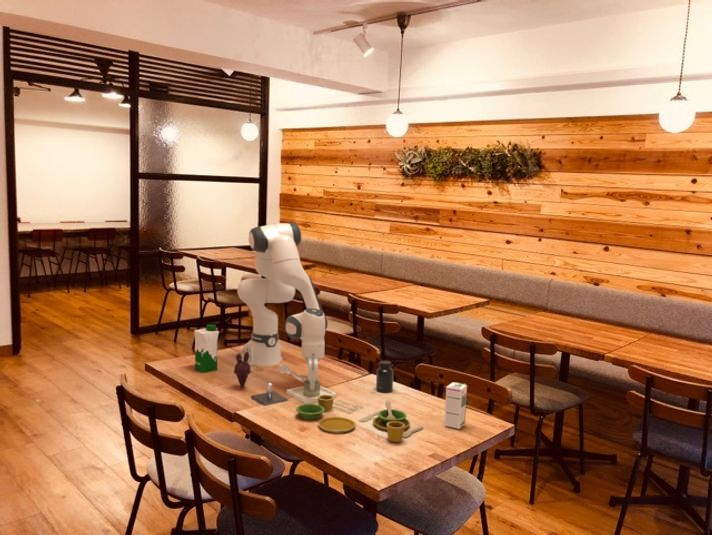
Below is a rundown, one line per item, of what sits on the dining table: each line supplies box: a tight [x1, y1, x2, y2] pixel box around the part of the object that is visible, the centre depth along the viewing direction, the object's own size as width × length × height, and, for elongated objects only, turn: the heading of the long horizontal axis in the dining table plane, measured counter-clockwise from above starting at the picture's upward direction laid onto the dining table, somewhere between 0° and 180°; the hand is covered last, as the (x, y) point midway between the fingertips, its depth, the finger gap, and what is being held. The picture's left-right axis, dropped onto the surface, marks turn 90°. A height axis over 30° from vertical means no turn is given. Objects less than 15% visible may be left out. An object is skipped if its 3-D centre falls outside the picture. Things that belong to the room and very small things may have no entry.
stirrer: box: [278, 364, 308, 383], centre depth 255 cm, size 20×4×5 cm, turn 47°
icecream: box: [233, 352, 252, 389], centre depth 239 cm, size 7×7×15 cm
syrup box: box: [444, 382, 468, 430], centre depth 211 cm, size 6×6×14 cm
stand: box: [250, 382, 288, 407], centre depth 229 cm, size 10×10×6 cm
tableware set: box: [295, 395, 424, 443], centre depth 210 cm, size 41×28×6 cm
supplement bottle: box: [375, 360, 394, 394], centre depth 245 cm, size 7×7×12 cm
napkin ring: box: [303, 379, 321, 397], centre depth 235 cm, size 6×6×5 cm
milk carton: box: [193, 323, 220, 374], centre depth 259 cm, size 9×9×20 cm
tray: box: [286, 385, 338, 404], centre depth 235 cm, size 14×14×2 cm
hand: (311, 385), depth 235 cm, fingers open, 8 cm apart
